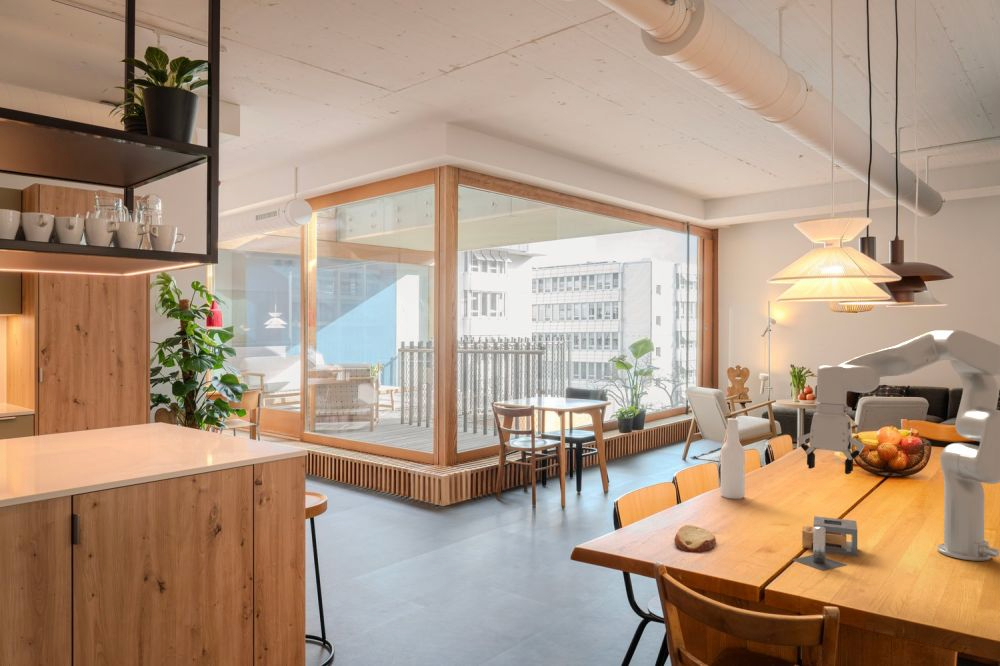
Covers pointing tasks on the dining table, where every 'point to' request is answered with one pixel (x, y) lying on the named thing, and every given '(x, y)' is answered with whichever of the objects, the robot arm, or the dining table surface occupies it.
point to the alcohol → (732, 463)
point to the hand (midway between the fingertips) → (829, 470)
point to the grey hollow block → (833, 535)
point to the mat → (823, 567)
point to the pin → (819, 545)
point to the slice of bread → (694, 539)
